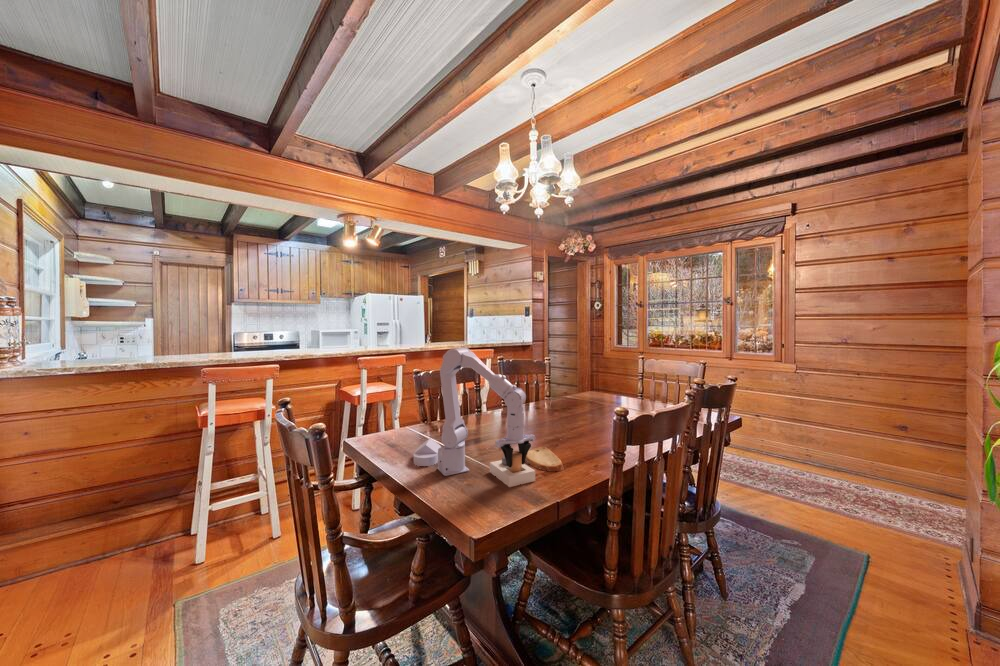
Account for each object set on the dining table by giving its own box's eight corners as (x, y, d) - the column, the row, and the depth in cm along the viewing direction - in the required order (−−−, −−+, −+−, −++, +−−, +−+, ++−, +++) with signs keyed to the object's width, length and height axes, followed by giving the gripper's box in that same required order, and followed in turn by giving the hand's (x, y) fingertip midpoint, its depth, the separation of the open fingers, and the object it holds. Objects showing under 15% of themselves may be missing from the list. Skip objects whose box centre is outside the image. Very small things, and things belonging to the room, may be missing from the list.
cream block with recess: (509, 487, 125) (509, 470, 124) (489, 472, 137) (489, 456, 137) (535, 481, 129) (535, 464, 129) (514, 466, 142) (514, 452, 141)
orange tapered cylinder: (513, 476, 128) (513, 456, 128) (507, 472, 132) (507, 452, 131) (524, 474, 130) (524, 454, 130) (517, 470, 134) (518, 450, 133)
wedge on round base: (419, 454, 155) (410, 466, 142) (418, 437, 155) (410, 448, 142) (441, 454, 155) (435, 466, 142) (441, 437, 155) (435, 448, 142)
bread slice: (562, 473, 136) (562, 463, 136) (513, 466, 143) (513, 456, 142) (571, 456, 153) (571, 447, 153) (527, 451, 159) (527, 442, 159)
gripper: (502, 431, 123) (502, 473, 124) (540, 425, 130) (540, 464, 131) (492, 425, 129) (492, 465, 130) (528, 420, 136) (528, 458, 137)
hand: (515, 464), depth 131 cm, fingers open, 4 cm apart
